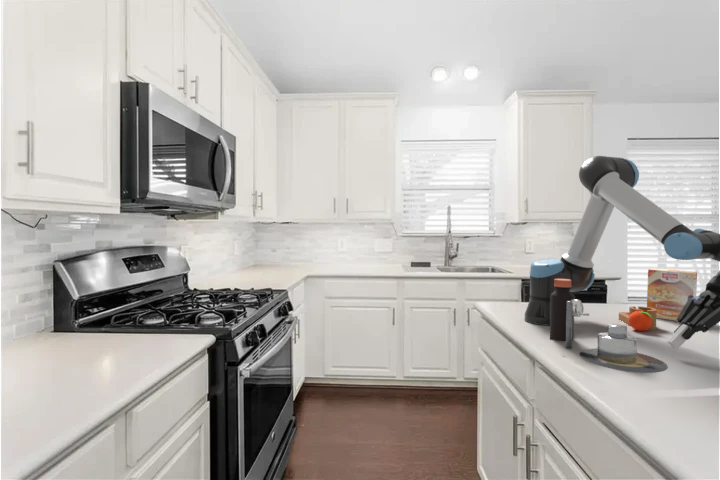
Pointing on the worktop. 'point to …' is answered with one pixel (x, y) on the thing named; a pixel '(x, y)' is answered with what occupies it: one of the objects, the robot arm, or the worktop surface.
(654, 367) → the grey plate
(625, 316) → the bracket
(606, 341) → the cover
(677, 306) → the coffeecake box
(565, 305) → the bottle
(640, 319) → the clementine
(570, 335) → the dial gauge stand
